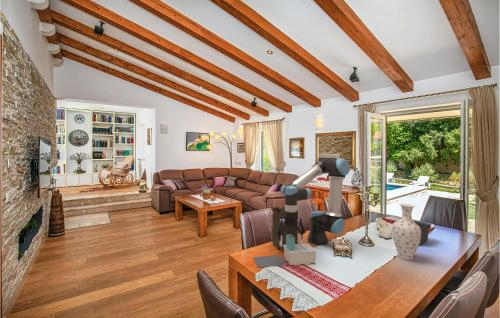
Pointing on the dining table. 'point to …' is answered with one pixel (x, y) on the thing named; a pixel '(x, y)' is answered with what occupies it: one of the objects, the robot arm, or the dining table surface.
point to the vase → (406, 234)
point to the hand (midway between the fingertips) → (290, 244)
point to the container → (289, 230)
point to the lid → (297, 246)
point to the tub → (299, 258)
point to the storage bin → (424, 231)
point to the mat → (269, 261)
